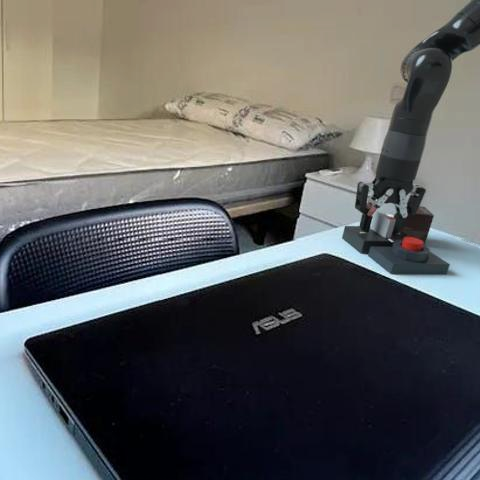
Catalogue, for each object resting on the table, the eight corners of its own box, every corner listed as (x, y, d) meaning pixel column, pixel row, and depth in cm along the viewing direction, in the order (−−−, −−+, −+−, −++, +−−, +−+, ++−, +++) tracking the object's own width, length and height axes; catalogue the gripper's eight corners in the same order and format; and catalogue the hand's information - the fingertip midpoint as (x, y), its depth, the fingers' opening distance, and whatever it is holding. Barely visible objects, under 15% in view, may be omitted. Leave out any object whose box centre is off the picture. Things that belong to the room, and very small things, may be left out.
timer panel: (389, 238, 112) (393, 225, 111) (414, 255, 104) (419, 241, 102) (340, 237, 110) (343, 224, 109) (362, 255, 102) (366, 241, 100)
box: (424, 247, 109) (435, 215, 106) (396, 243, 109) (405, 211, 107) (416, 236, 114) (425, 206, 111) (388, 233, 115) (397, 203, 112)
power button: (413, 244, 99) (416, 236, 99) (425, 252, 96) (428, 244, 95) (397, 244, 99) (400, 236, 98) (408, 252, 95) (411, 244, 95)
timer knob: (370, 228, 108) (375, 210, 106) (375, 228, 108) (380, 210, 106) (385, 237, 103) (390, 218, 102) (390, 237, 104) (396, 218, 102)
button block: (420, 256, 104) (426, 239, 102) (446, 274, 96) (452, 255, 95) (367, 256, 101) (372, 238, 100) (390, 274, 94) (396, 255, 93)
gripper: (376, 156, 95) (355, 237, 102) (445, 161, 97) (420, 240, 104) (358, 147, 102) (339, 223, 108) (423, 151, 104) (401, 226, 110)
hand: (379, 231), depth 106 cm, fingers open, 6 cm apart
